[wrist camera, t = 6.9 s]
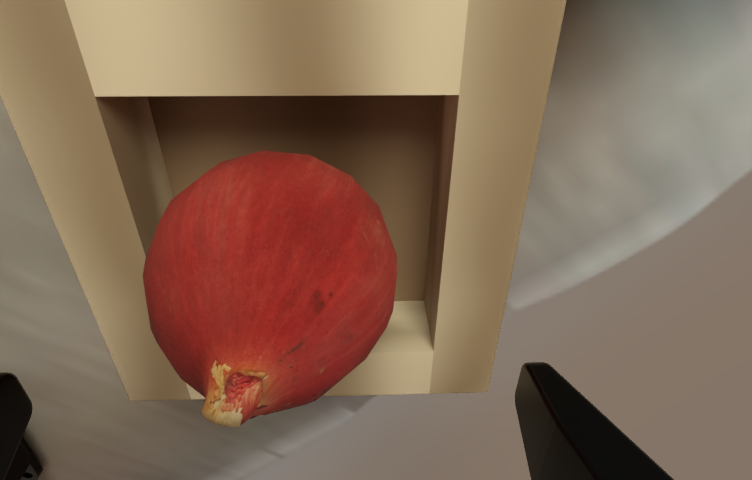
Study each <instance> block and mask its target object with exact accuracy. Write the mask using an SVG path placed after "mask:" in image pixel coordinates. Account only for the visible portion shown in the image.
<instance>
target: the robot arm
mask: <svg viewBox="0 0 752 480" xmlns="http://www.w3.org/2000/svg"><path fill="white" fill-rule="evenodd" d="M515 405H516V410H517V414H518V419H519V424H520V429H521V433H522V438H523V443H524V448H525V452H526V457H527V461H528V466H529V471H530V476H531V480H674V479H673V478H672V477H671V476H669V475H668V474H667V473H666V472H665V471H664V470H663V469H662V468H661V467H659V465H657V464H656V463H655V462H654V461H653V460H652V459H651V458H650V457H649V456H648V455H647V454H646V453H645V452H643V451H642V450H641V449H640V448H639V447H638V446H637V445H636V444H635V443H634V442H632V440H630V439H629V438H628V437H627V436H626V435H625V434H624V433H623V432H622V431H621V430H620V429H618V428H617V427H616V426H615V425H614V424H613V423H612V422H611V421H610V420H609V419H608V418H607V417H606V416H604V415H603V414H602V413H601V412H600V411H599V410H598V409H597V408H596V407H595V406H593V404H591V403H590V402H589V401H588V400H587V399H586V398H585V397H584V396H583V395H581V393H580V392H578V391H577V390H576V389H575V388H574V387H573V386H572V385H571V384H570V383H569V382H567V380H565V379H564V378H563V377H562V376H561V375H560V374H559V373H558V372H557V371H556V370H555V369H554V368H552V367H551V366H550V365H549V364H547V363H544V362H534V363H525V364H524V365H523V366H522V368H521V372H520V376H519V380H518V384H517V388H516V392H515ZM31 414H32V403H31V400H30V399H29V397H28V395H27V394H26V392H25V390H24V389H23V387H22V385H21V384H20V382H19V380H18V379H17V377H16V376H15V375H13V374H12V373H0V480H37V479H38V477H39V475H40V474H41V472H42V470H43V469H42V467H41V465H40V464H39V462H38V461H37V459H36V457H35V456H34V454H33V453H32V451H31V450H30V448H29V447H28V445H27V444H26V442H25V441H24V439H23V438H22V437H23V434H24V432H25V430H26V427H27V425H28V422H29V420H30V418H31Z"/></svg>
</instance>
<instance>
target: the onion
mask: <svg viewBox="0 0 752 480" xmlns="http://www.w3.org/2000/svg"><path fill="white" fill-rule="evenodd" d="M396 280H397V254H396V252H395V249H394V246H393V243H392V241H391V238H390V235H389V233H388V230H387V227H386V225H385V222H384V219H383V216H382V213H381V210H380V207H379V205H378V204H377V203H376V202H375V201H374V200H373V199H372V198H371V197H370V196H369V194H368V193H367V192H366V191H365V190H364V189H363V188H362V187H361V186H360V185H359V184H358V183H357V181H356V180H355V179H354V178H353V177H352V176H351V175H349V174H347V173H345V172H343V171H341V170H339V169H337V168H335V167H333V166H331V165H329V164H327V163H325V162H323V161H321V160H319V159H317V158H315V157H313V156H311V155H305V154H294V153H283V152H272V151H259V152H256V153H252V154H248V155H245V156H241V157H237V158H234V159H230V160H226V161H223V162H220V163H218V164H217V165H216V166H214V167H213V168H212V169H210V170H209V171H207V172H206V173H205V174H203V175H202V176H201V177H200V178H198V179H197V180H196V181H195V182H193V183H192V184H191V185H189V186H188V187H187V188H186V189H184V190H183V191H182V192H180V193H179V194H178V195H177V196H175V197H174V198H173V199H172V200H171V201H170V203H169V205H168V206H167V208H166V210H165V212H164V213H163V215H162V217H161V219H160V221H159V223H158V226H157V229H156V231H155V234H154V236H153V239H152V242H151V244H150V247H149V249H148V252H147V255H146V259H145V264H144V270H143V283H144V290H145V297H146V303H147V309H148V315H149V321H150V328H151V331H152V333H153V335H154V338H155V340H156V342H157V344H158V345H159V347H160V348H161V350H162V351H163V353H164V354H165V356H166V357H167V359H168V361H169V362H170V364H171V365H172V367H173V368H174V370H175V371H176V373H177V374H178V375H179V377H180V378H181V379H182V380H183V381H184V382H186V383H187V384H188V385H189V386H191V387H192V388H193V389H194V390H196V391H197V392H198V393H200V394H201V395H202V396H203V397H205V402H204V405H203V408H202V411H201V414H202V415H203V416H204V417H205V418H207V419H208V420H209V421H210V422H213V423H216V424H219V425H224V426H230V427H235V428H238V427H239V426H240V425H242V424H243V423H244V422H245V421H246V420H248V419H251V418H254V417H256V416H258V415H266V414H270V413H274V412H278V411H282V410H286V409H290V408H294V407H297V406H301V405H305V404H308V403H310V402H313V401H315V400H317V399H318V398H319V397H321V396H322V395H324V394H325V393H326V392H327V391H329V390H330V389H331V388H332V387H333V386H335V385H336V384H337V383H338V382H339V381H340V380H342V379H343V378H344V377H345V376H346V375H348V374H349V373H350V372H351V371H352V370H353V369H355V368H356V367H357V366H358V365H359V364H361V363H362V362H363V361H364V360H365V359H366V358H367V357H368V355H369V354H370V352H371V351H372V349H373V348H374V346H375V344H376V343H377V341H378V340H379V338H380V337H381V335H382V334H383V332H384V331H385V329H386V328H387V326H388V323H389V320H390V318H391V315H392V312H393V307H394V298H395V289H396Z"/></svg>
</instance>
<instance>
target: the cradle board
mask: <svg viewBox="0 0 752 480" xmlns="http://www.w3.org/2000/svg"><path fill="white" fill-rule="evenodd" d="M565 5H566V0H0V95H1V98H2V100H3V103H4V105H5V107H6V110H7V112H8V114H9V117H10V119H11V121H12V124H13V126H14V128H15V131H16V133H17V135H18V138H19V140H20V143H21V145H22V147H23V150H24V152H25V154H26V157H27V159H28V161H29V164H30V166H31V168H32V171H33V173H34V175H35V178H36V180H37V182H38V185H39V187H40V190H41V192H42V194H43V197H44V199H45V201H46V204H47V206H48V208H49V211H50V213H51V215H52V218H53V220H54V222H55V225H56V227H57V230H58V232H59V234H60V237H61V239H62V241H63V244H64V246H65V248H66V251H67V253H68V255H69V258H70V260H71V262H72V265H73V267H74V270H75V272H76V274H77V277H78V279H79V281H80V284H81V286H82V288H83V291H84V293H85V295H86V298H87V300H88V302H89V305H90V307H91V310H92V312H93V314H94V317H95V319H96V321H97V324H98V326H99V328H100V331H101V333H102V335H103V338H104V340H105V342H106V345H107V347H108V349H109V352H110V354H111V357H112V359H113V361H114V364H115V366H116V368H117V371H118V373H119V375H120V378H121V380H122V382H123V385H124V387H125V389H126V392H127V394H128V397H129V399H130V401H146V400H187V399H205V397H203V396H202V395H201V394H200V393H198V392H197V391H196V390H194V389H193V388H192V387H191V386H189V385H188V384H187V383H186V382H184V381H183V380H182V379H181V378H180V377H179V375H178V374H177V373H176V371H175V370H174V368H173V367H172V365H171V364H170V362H169V361H168V359H167V357H166V356H165V354H164V353H163V351H162V350H161V348H160V347H159V345H158V344H157V342H156V340H155V338H154V335H153V333H152V331H151V328H150V321H149V315H148V309H147V303H146V297H145V290H144V283H143V270H144V264H145V259H146V255H147V252H148V249H149V247H150V244H151V242H152V239H153V236H154V234H155V231H156V229H157V226H158V223H159V221H160V219H161V217H162V215H163V213H164V212H165V210H166V208H167V206H168V205H169V203H170V201H171V200H172V199H173V198H174V197H175V196H177V195H178V194H179V193H180V192H182V191H183V190H184V189H186V188H187V187H188V186H189V185H191V184H192V183H193V182H195V181H196V180H197V179H198V178H200V177H201V176H202V175H203V174H205V173H206V172H207V171H209V170H210V169H212V168H213V167H214V166H216V165H217V164H218V163H220V162H223V161H226V160H230V159H234V158H237V157H241V156H245V155H248V154H252V153H256V152H259V151H272V152H283V153H294V154H305V155H311V156H313V157H315V158H317V159H319V160H321V161H323V162H325V163H327V164H329V165H331V166H333V167H335V168H337V169H339V170H341V171H343V172H345V173H347V174H349V175H351V176H352V177H353V178H354V179H355V180H356V181H357V183H358V184H359V185H360V186H361V187H362V188H363V189H364V190H365V191H366V192H367V193H368V194H369V196H370V197H371V198H372V199H373V200H374V201H375V202H376V203H377V204H378V205H379V207H380V210H381V213H382V216H383V219H384V222H385V225H386V227H387V230H388V233H389V235H390V238H391V241H392V243H393V246H394V249H395V252H396V254H397V280H396V289H395V298H394V307H393V312H392V315H391V318H390V320H389V323H388V326H387V328H386V329H385V331H384V332H383V334H382V335H381V337H380V338H379V340H378V341H377V343H376V344H375V346H374V348H373V349H372V351H371V352H370V354H369V355H368V357H367V358H366V359H365V360H364V361H363V362H362V363H361V364H359V365H358V366H357V367H356V368H355V369H353V370H352V371H351V372H350V373H349V374H348V375H346V376H345V377H344V378H343V379H342V380H340V381H339V382H338V383H337V384H336V385H335V386H333V387H332V388H331V389H330V390H329V391H327V392H326V393H325V394H324V395H322V396H352V395H392V394H393V395H394V394H433V393H434V394H435V393H474V392H475V393H476V392H488V388H489V383H490V378H491V373H492V368H493V364H494V359H495V354H496V349H497V344H498V338H499V333H500V329H501V324H502V319H503V314H504V309H505V304H506V299H507V294H508V289H509V284H510V279H511V274H512V269H513V264H514V259H515V254H516V249H517V244H518V239H519V234H520V229H521V224H522V219H523V214H524V209H525V204H526V199H527V194H528V189H529V184H530V179H531V174H532V169H533V164H534V159H535V154H536V149H537V144H538V139H539V134H540V129H541V124H542V119H543V114H544V109H545V104H546V99H547V94H548V89H549V84H550V80H551V75H552V70H553V65H554V60H555V55H556V50H557V45H558V40H559V35H560V30H561V25H562V20H563V15H564V10H565Z"/></svg>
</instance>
